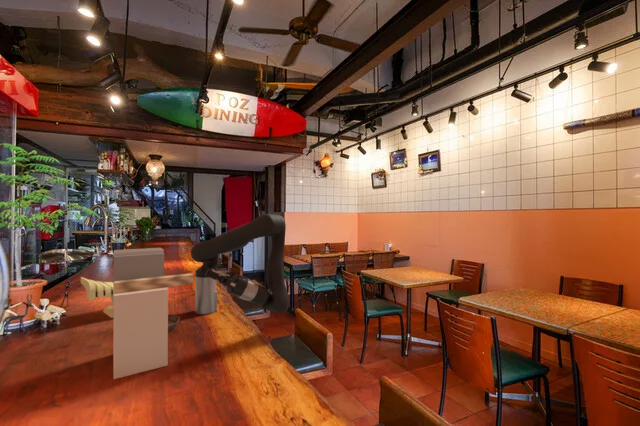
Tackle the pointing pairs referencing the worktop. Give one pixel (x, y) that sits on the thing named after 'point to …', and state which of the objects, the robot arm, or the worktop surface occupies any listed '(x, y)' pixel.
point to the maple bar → (152, 283)
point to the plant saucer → (172, 321)
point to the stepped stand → (139, 314)
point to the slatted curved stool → (99, 292)
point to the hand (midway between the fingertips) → (203, 270)
